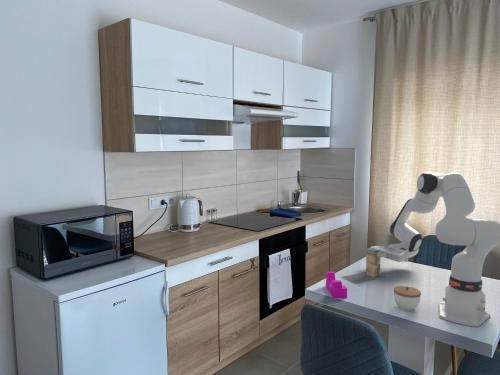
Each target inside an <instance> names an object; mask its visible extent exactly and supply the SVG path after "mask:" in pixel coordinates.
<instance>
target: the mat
mask: <svg viewBox="0 0 500 375" xmlns="http://www.w3.org/2000/svg"><path fill="white" fill-rule="evenodd" d="M340 278H341V279H343V280H346V281H348V282H350V283H353V284H356V285H357V284H361V283H366V282H370V281H375V280H379V279H382V278H383V279H384V278H387V276H385V275H383V274H380V275H379V276H375V277H372V276H369V275H367V274H366V271H363V272H359V273H358V272H357V273H354V274H349V275H345V276H340Z"/></svg>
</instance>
